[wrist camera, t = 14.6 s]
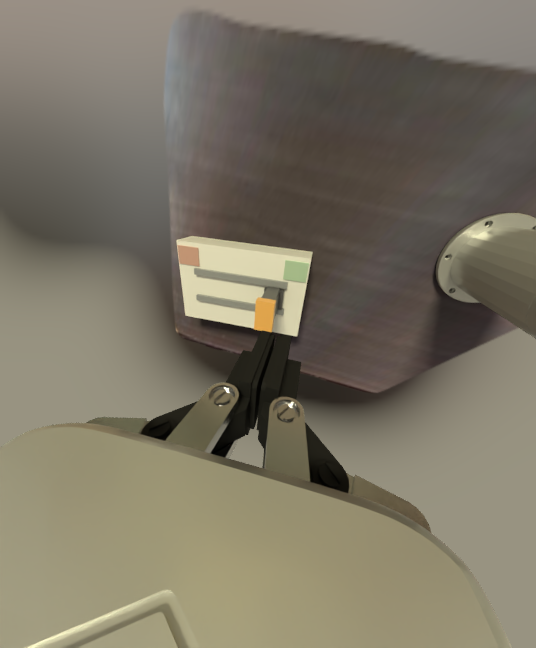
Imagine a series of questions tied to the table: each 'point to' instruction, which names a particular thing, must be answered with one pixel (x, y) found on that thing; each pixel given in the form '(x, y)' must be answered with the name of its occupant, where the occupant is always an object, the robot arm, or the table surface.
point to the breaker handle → (268, 308)
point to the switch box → (241, 280)
